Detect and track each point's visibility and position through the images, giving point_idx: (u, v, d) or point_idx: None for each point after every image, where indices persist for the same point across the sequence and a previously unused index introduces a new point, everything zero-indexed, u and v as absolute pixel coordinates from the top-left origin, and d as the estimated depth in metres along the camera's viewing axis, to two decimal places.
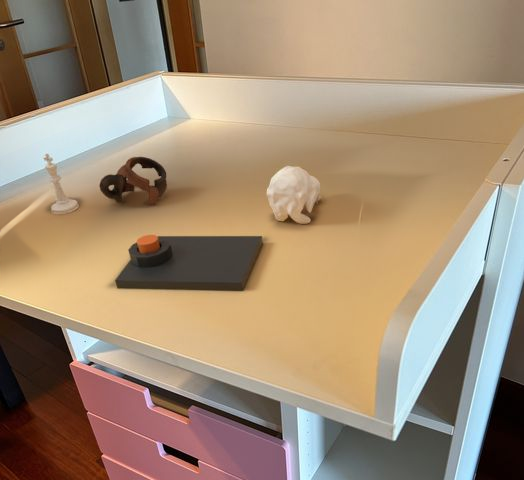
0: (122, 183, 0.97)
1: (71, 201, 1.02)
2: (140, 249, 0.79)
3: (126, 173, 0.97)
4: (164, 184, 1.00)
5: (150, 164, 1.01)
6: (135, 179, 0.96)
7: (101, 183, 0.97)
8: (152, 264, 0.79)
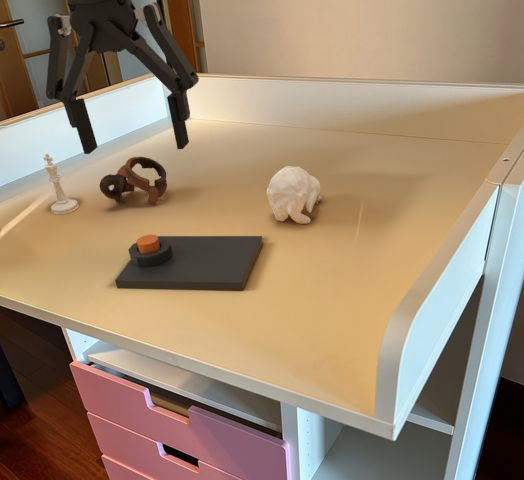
0: (122, 183, 0.97)
1: (71, 201, 1.02)
2: (140, 249, 0.79)
3: (126, 173, 0.97)
4: (164, 184, 1.00)
5: (150, 164, 1.01)
6: (135, 179, 0.96)
7: (101, 183, 0.97)
8: (152, 264, 0.79)
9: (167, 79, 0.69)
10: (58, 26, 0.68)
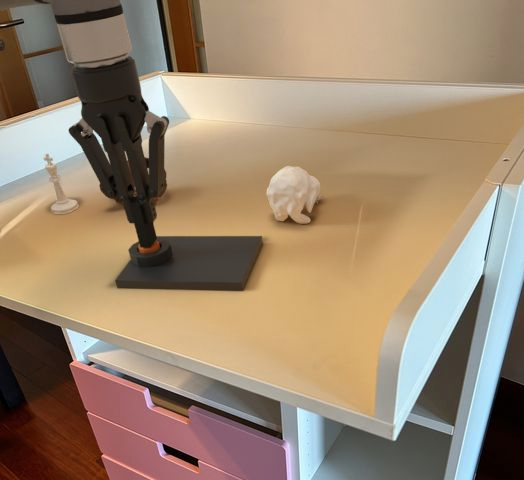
0: None
1: (71, 201, 1.02)
2: None
3: None
4: (164, 184, 1.00)
5: None
6: None
7: None
8: (152, 264, 0.79)
9: (140, 187, 0.73)
10: (79, 131, 0.70)
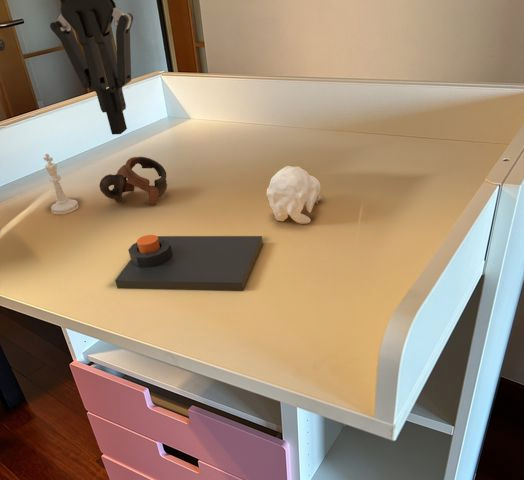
0: (122, 183, 0.97)
1: (71, 201, 1.02)
2: (140, 249, 0.79)
3: (126, 173, 0.97)
4: (164, 184, 1.00)
5: (150, 164, 1.01)
6: (135, 179, 0.96)
7: (101, 183, 0.97)
8: (152, 264, 0.79)
9: (110, 77, 0.88)
10: (59, 27, 0.85)
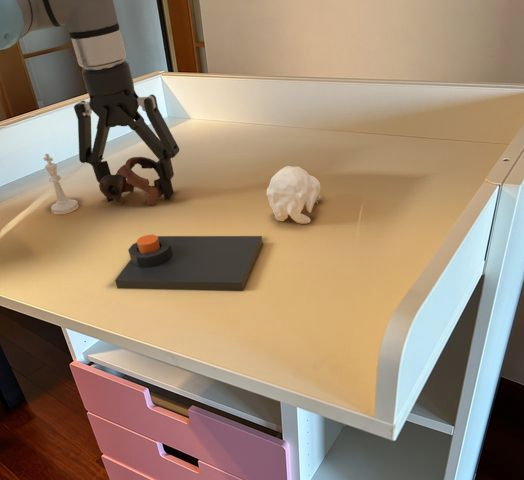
0: (122, 183, 0.97)
1: (71, 201, 1.02)
2: (140, 249, 0.79)
3: (126, 173, 0.97)
4: None
5: (150, 164, 1.01)
6: (134, 179, 0.96)
7: (101, 183, 0.97)
8: (152, 264, 0.79)
9: (157, 150, 0.94)
10: (82, 111, 0.93)
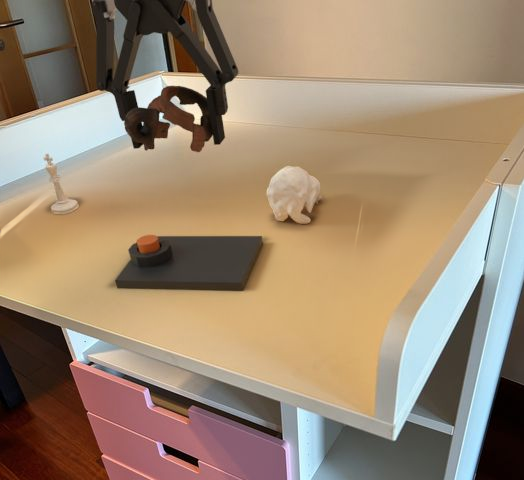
0: (156, 119, 0.69)
1: (71, 201, 1.02)
2: (140, 249, 0.79)
3: (161, 106, 0.69)
4: None
5: (193, 97, 0.73)
6: (174, 113, 0.69)
7: (127, 119, 0.69)
8: (152, 264, 0.79)
9: (208, 71, 0.66)
10: (103, 10, 0.65)
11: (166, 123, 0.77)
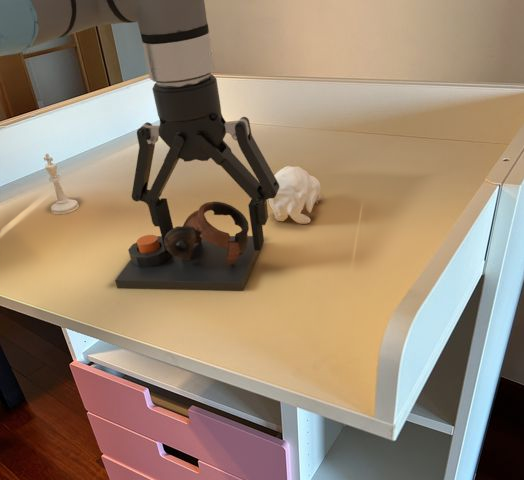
0: (194, 238, 0.74)
1: (71, 201, 1.02)
2: (140, 249, 0.79)
3: (199, 225, 0.74)
4: (245, 237, 0.77)
5: (227, 211, 0.78)
6: (211, 233, 0.73)
7: (167, 238, 0.74)
8: (152, 264, 0.79)
9: (251, 189, 0.70)
10: (147, 137, 0.69)
11: None
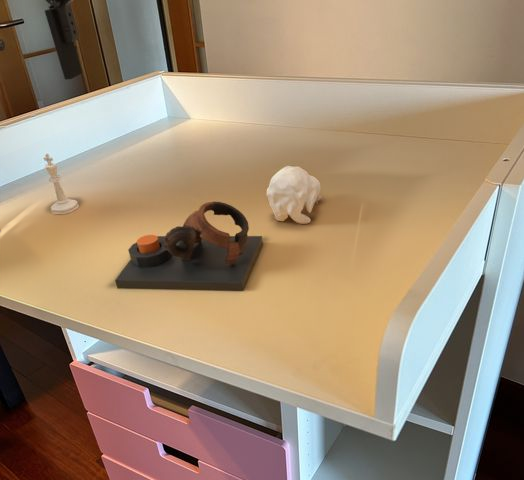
0: (194, 238, 0.74)
1: (71, 201, 1.02)
2: (140, 249, 0.79)
3: (199, 225, 0.74)
4: (245, 237, 0.77)
5: (227, 211, 0.78)
6: (211, 233, 0.73)
7: (167, 238, 0.74)
8: (152, 264, 0.79)
9: None
10: None
11: None
